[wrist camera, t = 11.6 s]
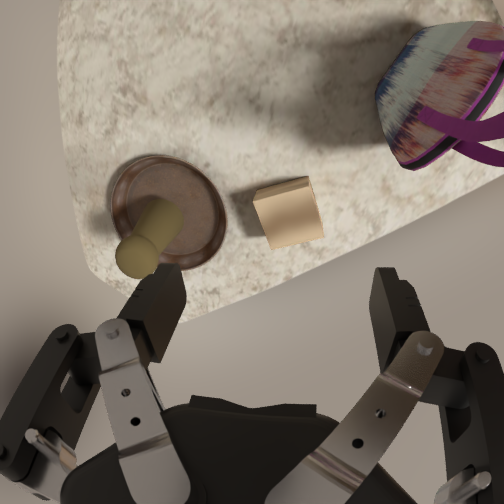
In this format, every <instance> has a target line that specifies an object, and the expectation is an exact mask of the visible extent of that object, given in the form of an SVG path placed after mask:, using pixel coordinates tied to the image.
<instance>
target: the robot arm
mask: <svg viewBox="0 0 504 504" xmlns="http://www.w3.org/2000/svg"><path fill="white" fill-rule="evenodd" d="M186 297H187V296H186V290H185V285H184V281H183V277H182V273H181V268H180V265H179V264H178V263H160V264H159V266H158V267H157V269H156V270H155V272H154V273H153V274H149V275H147V276H146V277H145V278H144V279H142V280H141V281H140V282H139V284H138V286H137V287H136V289H135V290H134V292H133V293H132V295H131V297H130V298H129V299H128V301H127V303H126V304H125V306H124V307H123V309H122V310H121V312H120V314H119V315H118V317H117V318H116V319H110V320H107V321H105V322H104V323H102V324H101V325H100V326H99V327H98V328H97V330H96V332H92V333H84V334H80V333H79V332H78V330H77V328H76V327H75V326H74V325H71V324H65V325H62V326H59V327H57V328H56V329H55V330H54V331H53V332H52V333H51V334H50V335H49V337H48V339H47V340H46V342H45V343H44V345H43V346H42V348H41V350H40V351H39V353H38V354H37V356H36V358H35V359H34V361H33V363H32V364H31V366H30V367H29V369H28V371H27V373H26V374H25V376H24V378H23V379H22V381H21V383H20V385H19V386H18V388H17V390H16V392H15V393H14V395H13V397H12V399H11V401H10V403H9V405H8V406H7V408H6V410H5V412H4V414H3V416H2V418H1V420H0V474H2V475H3V476H5V477H6V478H7V479H8V480H9V481H11V482H12V483H14V484H15V485H17V486H18V487H20V488H22V489H23V490H25V491H27V492H29V493H32V494H33V495H35V496H37V497H38V498H40V499H42V500H53V501H55V502H57V503H59V504H417V503H416V502H415V501H414V500H413V499H412V498H411V497H410V495H409V494H408V493H407V492H406V491H405V490H404V489H403V488H402V487H401V486H400V485H399V484H398V483H397V482H396V481H395V480H394V479H393V478H392V477H391V476H390V475H389V474H388V472H386V470H385V469H383V467H382V466H381V465H380V464H379V463H378V461H379V460H380V458H381V457H382V456H383V454H384V453H385V452H386V450H387V449H388V447H389V446H390V444H391V443H392V441H393V440H394V439H395V437H396V436H397V434H398V432H399V431H400V430H401V428H402V427H403V425H404V423H405V422H406V420H407V419H408V417H409V415H410V414H411V412H412V410H413V409H414V407H415V406H416V404H417V402H418V401H420V402H424V403H429V404H435V405H438V406H439V412H440V418H441V425H442V433H443V441H444V450H445V460H446V471H447V482H446V483H445V484H444V485H442V486H441V487H440V488H439V490H438V491H437V493H436V496H435V500H434V504H504V373H503V370H502V367H501V364H500V361H499V359H498V356H497V354H496V352H495V351H494V349H493V348H491V347H490V346H489V345H487V344H485V343H480V342H476V343H472V344H470V345H469V346H468V347H467V349H466V350H465V351H460V350H455V349H451V348H447V347H445V346H444V344H443V342H442V340H441V339H440V338H439V337H438V336H437V335H436V334H434V333H431V332H430V329H429V326H428V323H427V321H426V318H425V315H424V312H423V310H422V307H421V306H420V305H421V304H420V302H419V300H418V298H417V294H416V292H415V289H414V287H412V285H411V284H410V283H409V282H408V281H407V280H399V278H398V275H397V272H396V270H395V268H389V267H387V268H386V267H383V268H382V267H381V268H380V267H377V268H376V269H375V273H374V278H373V284H372V290H371V295H370V301H369V310H370V316H371V321H372V326H373V331H374V337H375V343H376V348H377V354H378V360H379V366H380V374H379V375H378V376H377V378H376V379H375V380H374V382H373V383H372V384H371V386H370V387H369V388H368V390H367V391H366V392H365V393H364V395H363V396H362V397H361V399H360V400H359V401H358V402H357V403H356V405H355V406H354V407H353V409H351V411H350V412H349V413H348V414H347V415H346V417H345V418H344V419H343V420H342V421H341V423H339V422H338V421H336V420H334V419H332V418H330V417H328V416H325V415H321V414H318V413H316V404H280V405H274V406H267V407H260V408H247V407H244V406H241V405H238V404H235V403H232V402H229V401H226V400H223V399H220V398H211V397H202V396H195V395H192V396H191V399H190V402H189V403H188V404H181V405H177V406H174V407H171V408H168V409H166V410H165V408H164V406H163V403H162V401H161V399H160V396H159V394H158V392H157V389H156V387H155V384H154V382H153V379H152V377H151V374H150V372H149V370H148V366H149V363H150V362H155V363H161V360H162V358H163V356H164V353H165V351H166V349H167V346H168V344H169V342H170V340H171V337H172V335H173V333H174V330H175V328H176V326H177V324H178V321H179V319H180V317H181V314H182V312H183V310H184V308H185V305H186ZM67 372H68V373H69V375H70V377H69V379H68V381H67V383H66V385H65V387H64V389H63V391H62V393H61V392H60V387H61V384H62V382H63V380H64V378H65V376H66V374H67ZM100 387H101V389H102V393H103V397H104V401H105V405H106V408H107V412H108V416H109V420H110V423H111V427H112V430H113V434H114V437H115V440H116V443H114V444H113V445H111V446H110V447H108V448H107V449H105V450H103V451H102V452H100V453H99V454H97V455H96V456H94V457H92V458H91V459H89V460H87V461H86V462H84V463H83V464H81V465H79V466H77V465H76V462H77V459H76V454H75V452H74V450H75V447H76V444H77V442H78V439H79V437H80V434H81V432H82V429H83V427H84V424H85V422H86V420H87V417H88V415H89V412H90V410H91V408H92V405H93V403H94V400H95V398H96V396H97V394H98V392H99V389H100Z"/></svg>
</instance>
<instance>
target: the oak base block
mask: <svg viewBox="0 0 504 504" xmlns="http://www.w3.org/2000/svg"><path fill="white" fill-rule="evenodd" d="M253 204H254V206H255V209H256V211H257V214H258V217H259V219H260V222H261V225H262V227H263V230H264V232H265V235H266V238H267V240H268V243H269V246H270V248H271V250H274V249H278V248H282V247H287V246H291V245H295V244H299V243H303V242H307V241H312V240H316V239H320V238H324V232H323V224H322V220H321V217H320V213H319V210H318V206H317V203H316V199H315V196H314V193H313V189H312V186H311V183H310V180H309V176H306V177H302V178H299V179H295V180H291V181H288V182H284V183H281V184H277V185H273V186H270V187H266V188H263V189H260V190H257V191H256V194H255V197H254V200H253Z"/></svg>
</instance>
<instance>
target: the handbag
mask: <svg viewBox="0 0 504 504" xmlns="http://www.w3.org/2000/svg"><path fill="white" fill-rule="evenodd" d="M503 85H504V27H503V26H501V25H498V24H495V23H492V22H485V21H468V22H457V23H448V24H441V25H435V26H431V27H427V28H425V29H423V30H421V31H419V32H418V33H416V34H415V35H414V36H413V37H412V38H411V39H410V40H409V42H408V43H407V44H406V46H405V47H404V49H403V50H402V51H401V53H400V54H399V56H398V57H397V58H396V60H395V61H394V62H393V64H392V65H391V66H390V68H389V69H388V71H387V72H386V73H385V75H384V76H383V77H382V79H381V80H380V82H379V83H378V86H377V89H376V92H375V100H376V104H377V108H378V113H379V118H380V122H381V126H382V129H383V132H384V135H385V137H386V140H387V142H388V144H389V147H390V150H391V151H392V153H393V155H394V156H395V157H396V159H397V161H398V163H399V164H400V166H401V167H402V168H405V169H408V170H413V171H416V170H418V169H421V168H424V167H426V166H428V165H429V164H431V163H432V162H434V161H435V160H437V159H438V158H440V157H441V156H443V155H444V154H445V153H447V152H448V151H449V150H450V149H451V148H452V149H454V150H456V151H458V152H459V153H461V154H463V155H465V156H467V157H469V158H471V159H474V160H476V161H479V162H481V163H484V164H487V165H492V166H496V167H504V152H503V151H498V150H496V149H492V148H490V147H487V146H485V145H482V144H480V143H478V142H482V141H490V140H496V139H501V138H504V112H502V113H500V114H498V115H496V116H494V117H491V118H489V119H486V120H483V121H480V119H481V118H482V117H483V115H484V114H485V113H486V112H487V110H488V109H489V108H490V106H491V105H492V104H493V102H494V100H495V99H496V97H497V95H498V94H499V92H500V90H501V89H502V87H503Z"/></svg>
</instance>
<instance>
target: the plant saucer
mask: <svg viewBox="0 0 504 504" xmlns="http://www.w3.org/2000/svg"><path fill="white" fill-rule="evenodd" d="M156 199H166V200H168V201H171V202H173V203H174V204H175V205H176V206H178V208H179V209H180V210H181V212H182V214H183V217H184V226H183V229H182V230H181V231H180V233H179V234H178V235H177V236H176V237H175V238H174V239H173V240H172V242H171V243H170V244H169V245H168V246H167V247H166V248H165V249H164V251H163V252H162V253H161V254H160V255H159V262H158V265H157V267H158V266H159V264H160V263H178V264H179V265H180V268H181V271H186V270H191V269H195V268H197V267H200V266H202V265H204V264H206V263H207V262H209V261H210V260H211V259H212V258H213V257H214V256H215V255H216V254H217V253H218V251H219V250H220V248H221V247H222V245H223V242H224V240H225V237H226V233H227V225H228V220H227V212H226V207H225V204H224V201H223V198H222V196H221V194H220V192H219V190H218V189H217V187H216V186H215V184H214V183H213V182H212V180H211V179H210V178H209V177H208V176H207V175H206V174H205V173H204V172H203V171H201V170H200V169H199V168H197V167H196V166H194V165H193V164H191V163H189V162H187V161H185V160H182V159H180V158H176V157H172V156H165V155H156V156H149V157H145V158H142V159H140V160H138V161H136V162H134V163H132V164H131V165H129V166H128V167H127V168H126V169H125V170H124V171H123V172H122V173H121V174H120V176H119V177H118V179H117V181H116V183H115V185H114V187H113V191H112V195H111V203H110V208H111V216H112V220H113V224H114V227H115V229H116V231H117V233H118V235H119V237H120V239H121V240H123V239H125V238H126V237H128V236H130V235H131V234H132V232H133V230H134V228H135V226H136V224H137V222H138V220H139V218H140V216H141V214H142V212H143V211H144V209H145V207H146V206H147V204H148V203H149V202H151V201H152V200H156Z"/></svg>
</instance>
